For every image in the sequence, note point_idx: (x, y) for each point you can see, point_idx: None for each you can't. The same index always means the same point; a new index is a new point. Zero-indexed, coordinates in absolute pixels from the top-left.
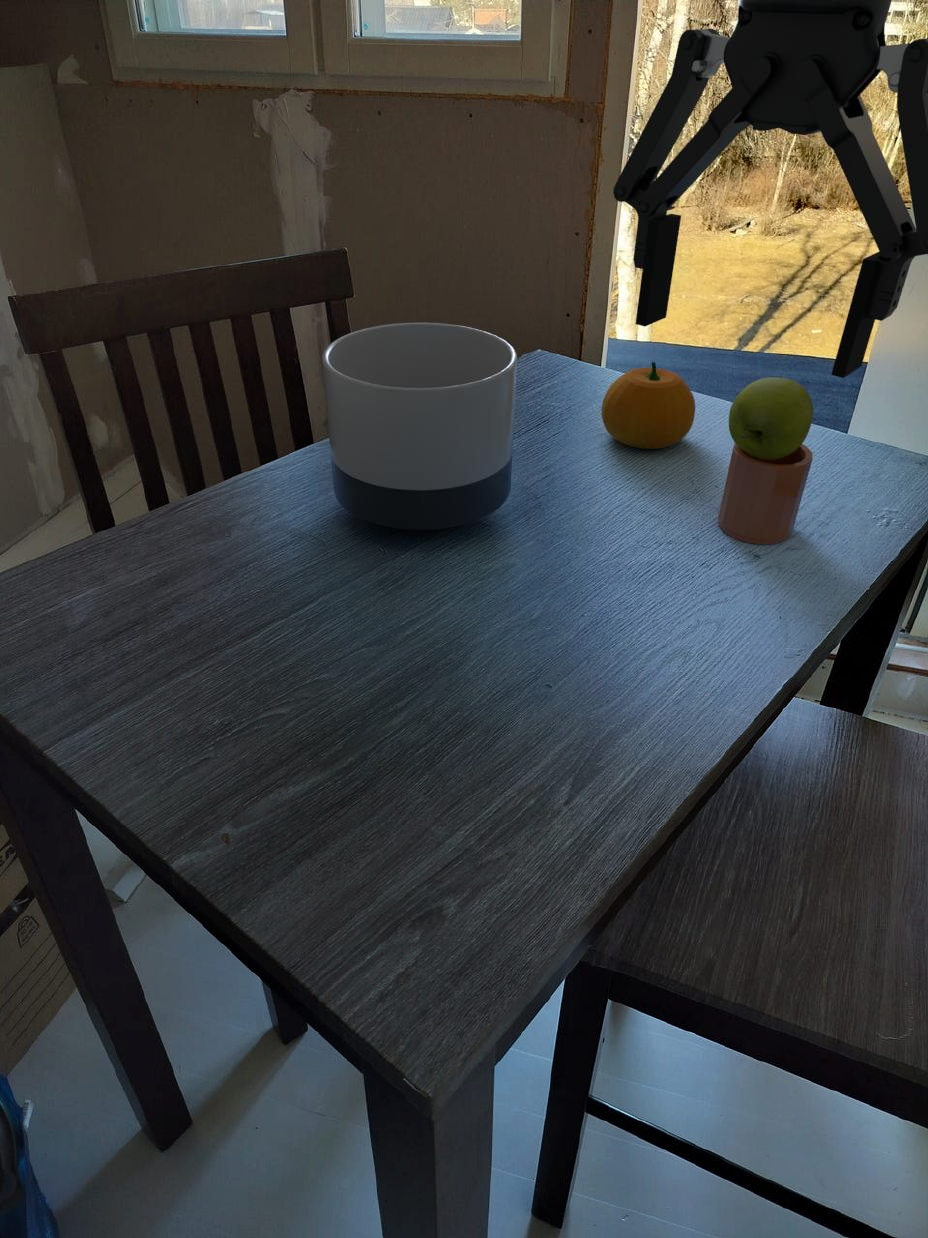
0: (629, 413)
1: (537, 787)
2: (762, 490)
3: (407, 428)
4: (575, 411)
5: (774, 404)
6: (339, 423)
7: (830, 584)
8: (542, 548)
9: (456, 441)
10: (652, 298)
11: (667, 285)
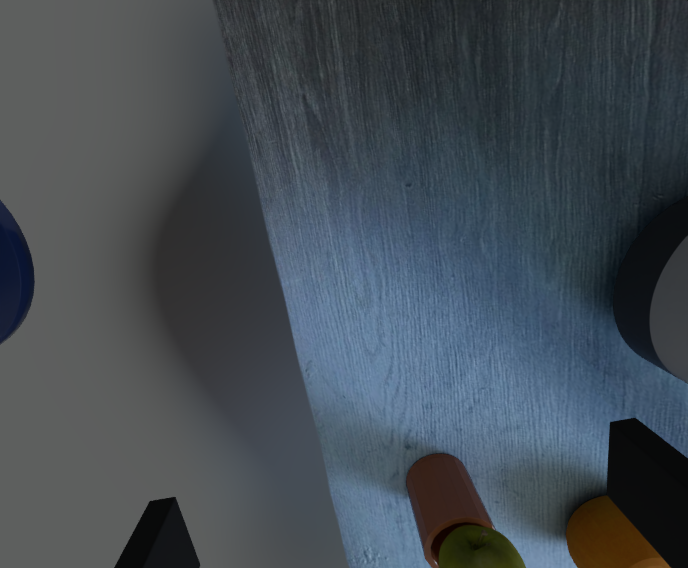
0: (625, 522)
1: (330, 90)
2: (438, 499)
3: None
4: None
5: None
6: None
7: (345, 459)
8: (545, 319)
9: None
10: (659, 481)
11: (670, 552)
